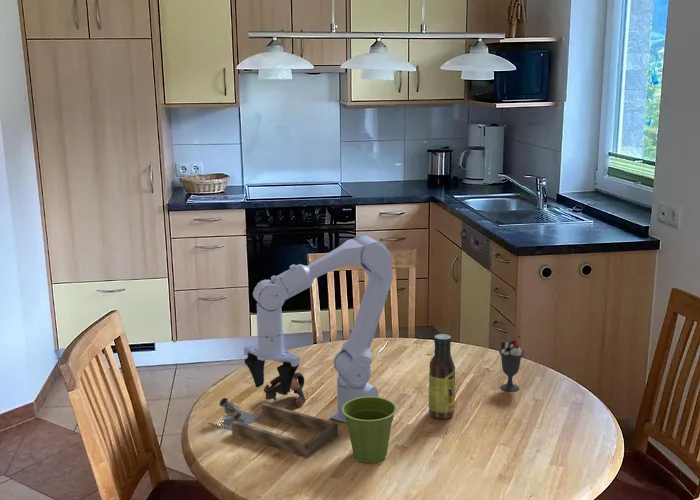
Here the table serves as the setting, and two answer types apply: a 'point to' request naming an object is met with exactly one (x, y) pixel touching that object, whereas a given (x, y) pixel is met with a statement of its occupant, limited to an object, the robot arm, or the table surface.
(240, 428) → the walnut tray
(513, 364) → the sundae
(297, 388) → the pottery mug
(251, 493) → the table surface
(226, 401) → the vase
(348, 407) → the plant pot
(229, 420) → the slate coaster
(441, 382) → the sauce bottle
